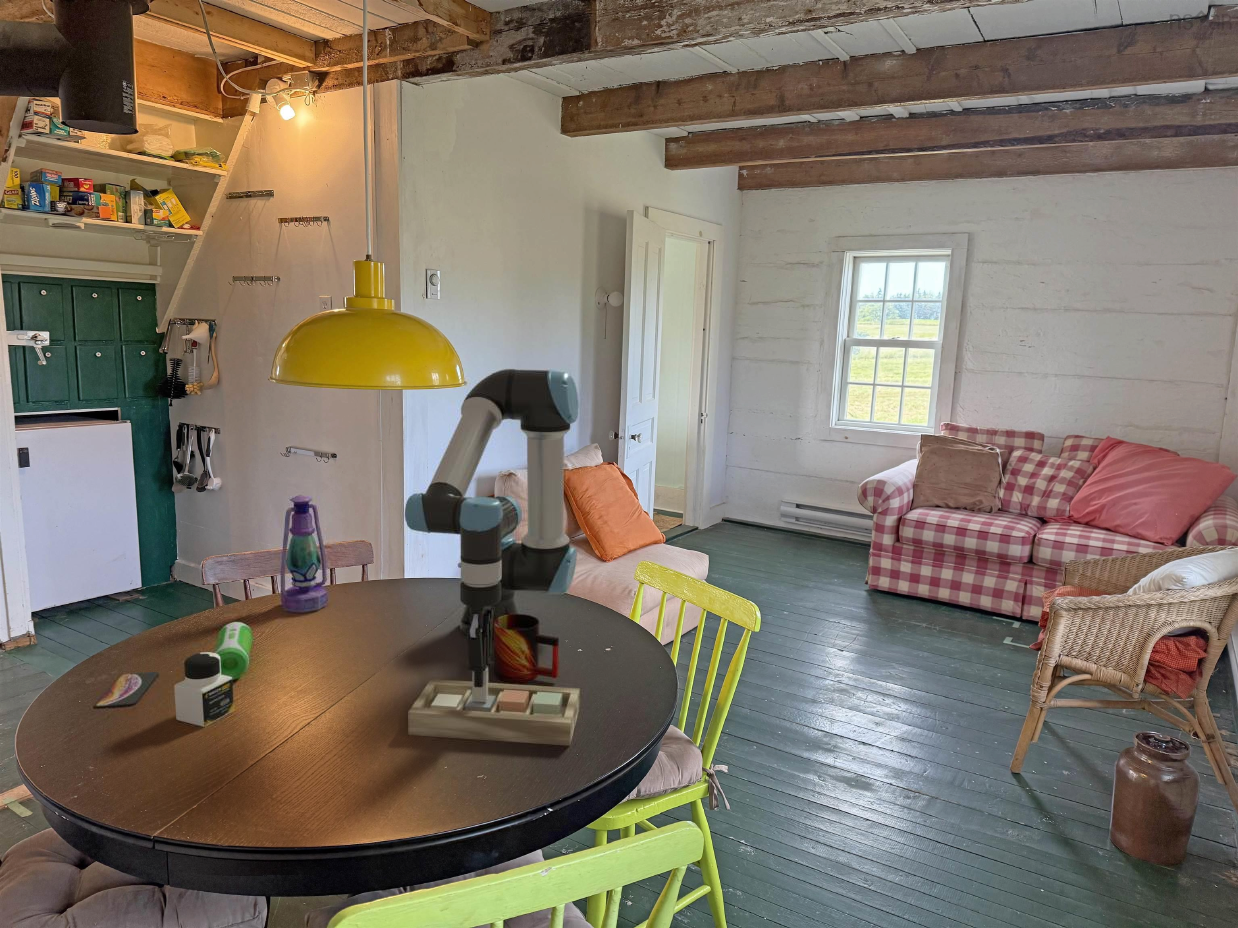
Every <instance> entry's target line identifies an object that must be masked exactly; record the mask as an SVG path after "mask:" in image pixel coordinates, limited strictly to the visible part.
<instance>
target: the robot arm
mask: <svg viewBox="0 0 1238 928" xmlns="http://www.w3.org/2000/svg"><path fill="white" fill-rule="evenodd" d="M578 395H579V394H578V390H577V387H576V382H575V380H574V378H573V377H572V375H570V374H569V373H568V372H564V371H557V370H548V369H547V370H545V369H544V370H542V369H540V370H539V369H515V368H514V369H513V368H506V369H505V368H504V369H501V370H498V371H496V372H492V373H491V374H489V375H487V376H486V377H484V378H483V379H481V381H479V382H478V383H477V384H476V385H474V387H473V388H472V389H471V390H470V391H469V392H468V394H466V396H465V397H464V400H463V401H462V404H461V407H460V414H461V417H460V419H459V421H458V424H457V426H456V427H455V430H454V432H453V435H452V437H451V438H450V441H449V442H448V445H447V447H446V449H445V450H444V451H445V452H444V453H443V456H442V458H441V460H440V462H439V464H438V466H437V468H436V471H435V472H434V475H433V477H432V479H431V482H430V483H429V486H428V488H427V489H426V491H425V493H423V492H420V493H418V492H417V493H413V494H412V495H410V496H409V497H408V499H407V501H406V503H405V508H404V519H405V522H406V525H407V527H408V528H409V529H410V530H411V531H417V532H423V533H427V534H433V533H434V534H446V535H447V534H449V535H460V536H459V537H460V538H459V539H460V557H459V558H460V562H458V564H457V567H458V568H459V569H460V581H461V583H460V584H459V585H460V586H459V587H460V591H459V594H460V595H459V596H460V602H461V603H462V604H463V605H464V607H463V610H462V613H461V615H460V616H461V617H460V620H459V630H460V632H461V633H462V634H464V635H466V640H467V641H466V642H467V653H468V654H467V656H468V667H467V670H468V671H470V672H471V673H472V676H471V678H472V679H471V682H472V701H475V702H487V700H488V683H489V666H491V667H492V666H493V665H494V660H490V659H491V658H492V645H493V644H492V642H493V640H494V621H495V620H496V619H497V618H499V617H501V616H505V615H510V614H521V613H520V611H519V607H518V603H517V600H516V597H515V593H516V592H526V593H527V592H529V593H539V594H545V595H548V596H549V595H563V594H566V593H567V592H568V591H569V589H570V587H571V585H572V582H573V579H574V575H575V571H576V566H577V560H578V553H577V552H578V551H577V548H576V547H574V546H571V545H570V537H569V536H568V535H567V534H566V533H565V532H564V496H565V495H564V494H565V493H564V485H565V483H564V481H565V480H564V478H565V477H564V471H565V470H564V468H565V467H564V465H565V459H564V458H565V457H564V456H565V450H564V449H565V435H566V434H568V433H569V431H570V430H571V424H575V423H576V421H577V419H578V416H579V396H578ZM504 420H514V421H517V420H518V421H519V422H520V430H521V432H523V433H524V434H525V436H526V442H527V443H526V447H527V448H526V463H527V464H526V465H527V467H526V468H527V469H526V470H527V471H526V472H527V473H526V474H527V475H526V477H527V481H526V483H527V485H526V487H527V489H526V490H527V493H526V494H527V533H525V534H524V535H523V536H522V538H521V542H517V539H516V537H515V535H513V534H512V533H514V532H515V530H516V529H517V528H518V526H519V525H520V524H521V521H522V518H523V512H522V511H523V510H522V507H521V505H520V503H519V502H518V501H517V500H516V499H515V498H513V497H512V496H509V495H497V496H494V497H489V496H474V497H472V496H471V497H469V496H467V497H466V494H467V492H468V489H469V487H470V484H471V482H472V480H473V477H474V475H475V473H476V471H477V468H478V466H479V464H480V461H481V460H482V457H483V454H484V452H485V450H486V447H487V445H488V443H489V441H490V438H491V437H492V436H491V435H492V433H493V432H494V430H496V429H498V428H499V427H500V425H501V424H502V421H504ZM515 591H516V592H515Z"/></svg>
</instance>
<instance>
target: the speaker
mask: <svg viewBox="0 0 1238 928" xmlns="http://www.w3.org/2000/svg"><path fill="white" fill-rule="evenodd" d="M253 641H254V636H253V632H252V630H251V628H250V626H248V625H247V624H246V623H243V622H240V621H233V622H230V623H227V624H226V625H224V626H223V627H222V628H221V629H220V631H218V634H217V636H216V644H215V647H214V651H213V653H216V654H218V655H219V656H220V662H221V675H225V676H230V677H232V681H235V680H237V679H238V678H240V677H241V676H242V675H243V674H244V673H245V672H246V671H247V669H248V668H249V665H250V655H251V647H252V644H253Z"/></svg>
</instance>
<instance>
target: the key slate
mask: <svg viewBox="0 0 1238 928" xmlns="http://www.w3.org/2000/svg"><path fill="white" fill-rule="evenodd" d="M495 702H496V696H488V700H487V702H475V701H472V694H471V696H470V698H469V699H468V701H467V703H466V705H465V711H480V712H491V710H492V708H493V706H494V704H495Z"/></svg>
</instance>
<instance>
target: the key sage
mask: <svg viewBox="0 0 1238 928" xmlns="http://www.w3.org/2000/svg"><path fill="white" fill-rule="evenodd" d="M561 705H562V693H549V692H537V695H536V697H535V700H534V703H533V713H538V714H553V715H559V712H560V708H561Z"/></svg>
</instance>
